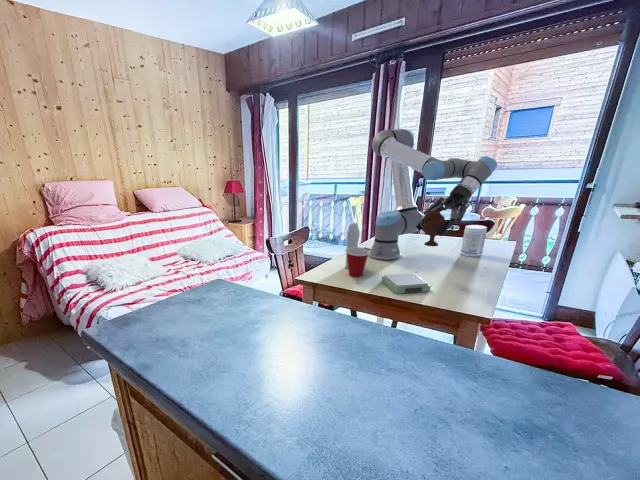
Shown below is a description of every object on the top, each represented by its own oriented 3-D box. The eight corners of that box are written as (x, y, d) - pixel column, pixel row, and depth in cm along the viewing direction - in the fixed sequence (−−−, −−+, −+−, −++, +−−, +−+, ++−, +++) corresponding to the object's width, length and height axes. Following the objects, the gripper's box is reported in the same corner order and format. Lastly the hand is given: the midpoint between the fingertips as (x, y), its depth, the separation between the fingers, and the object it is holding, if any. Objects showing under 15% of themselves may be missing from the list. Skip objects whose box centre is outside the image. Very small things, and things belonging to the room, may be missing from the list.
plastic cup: (355, 280, 146) (357, 255, 141) (339, 274, 155) (340, 249, 150) (373, 275, 150) (375, 250, 146) (356, 269, 159) (358, 245, 155)
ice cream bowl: (443, 249, 135) (449, 212, 129) (414, 246, 141) (419, 211, 135) (447, 243, 142) (453, 208, 137) (420, 240, 149) (424, 207, 143)
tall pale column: (353, 262, 169) (355, 220, 161) (360, 264, 167) (363, 221, 158) (342, 267, 163) (344, 224, 154) (349, 269, 160) (351, 225, 152)
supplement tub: (471, 251, 176) (476, 224, 170) (486, 255, 167) (492, 227, 162) (455, 253, 174) (460, 225, 169) (470, 258, 166) (476, 229, 160)
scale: (381, 281, 144) (382, 274, 142) (412, 279, 144) (413, 272, 143) (396, 294, 130) (397, 287, 129) (431, 292, 130) (432, 284, 129)
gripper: (493, 199, 127) (454, 242, 130) (445, 193, 149) (412, 231, 151) (486, 186, 124) (446, 231, 126) (438, 182, 145) (404, 221, 147)
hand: (427, 231), depth 139 cm, fingers closed on ice cream bowl, 11 cm apart
